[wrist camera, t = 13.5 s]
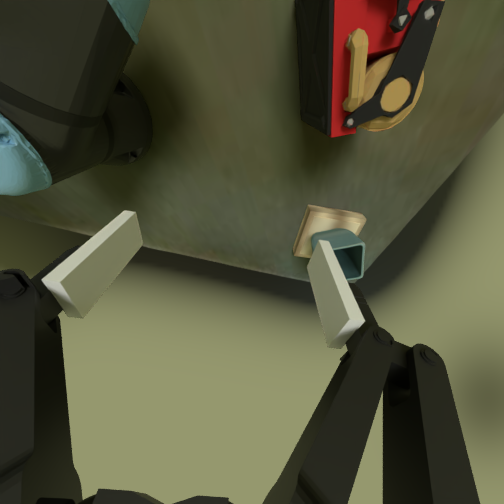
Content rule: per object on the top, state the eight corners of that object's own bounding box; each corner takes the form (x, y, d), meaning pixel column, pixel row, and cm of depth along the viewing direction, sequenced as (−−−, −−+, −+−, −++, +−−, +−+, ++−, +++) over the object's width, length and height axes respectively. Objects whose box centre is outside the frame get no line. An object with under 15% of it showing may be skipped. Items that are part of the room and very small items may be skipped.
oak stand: (292, 248, 51) (294, 256, 48) (308, 204, 43) (310, 211, 41) (338, 255, 51) (342, 263, 49) (361, 213, 44) (367, 220, 41)
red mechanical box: (362, 109, 33) (455, 123, 17) (299, 124, 34) (331, 149, 19) (379, -52, 23) (619, -354, 8) (291, -22, 25) (341, -219, 9)
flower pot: (348, 217, 41) (366, 242, 34) (347, 250, 46) (363, 278, 39) (304, 226, 43) (313, 252, 36) (309, 257, 48) (317, 285, 41)
